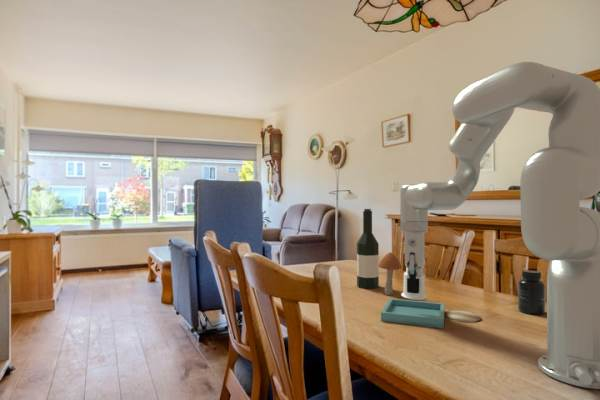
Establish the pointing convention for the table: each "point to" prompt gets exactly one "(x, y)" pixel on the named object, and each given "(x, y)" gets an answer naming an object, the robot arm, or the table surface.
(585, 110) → the robot arm
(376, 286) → the wine bottle
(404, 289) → the downlight
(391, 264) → the mushroom
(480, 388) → the table surface
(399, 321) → the tray
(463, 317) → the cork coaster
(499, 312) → the table surface
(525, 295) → the supplement bottle
